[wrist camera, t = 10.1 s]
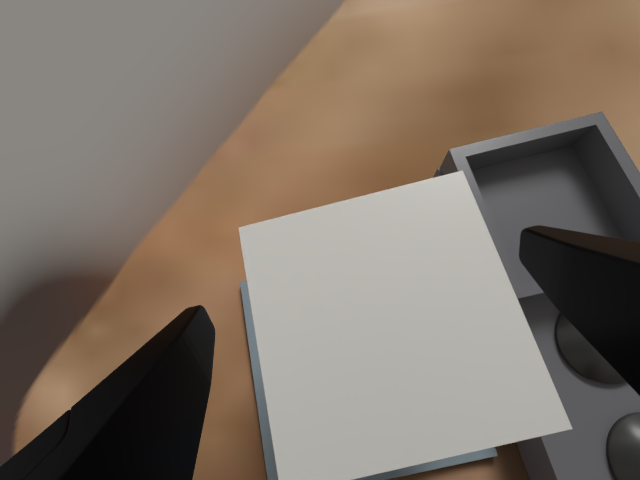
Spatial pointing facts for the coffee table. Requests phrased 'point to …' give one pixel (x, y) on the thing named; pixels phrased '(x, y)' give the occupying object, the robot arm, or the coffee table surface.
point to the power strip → (542, 316)
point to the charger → (391, 335)
